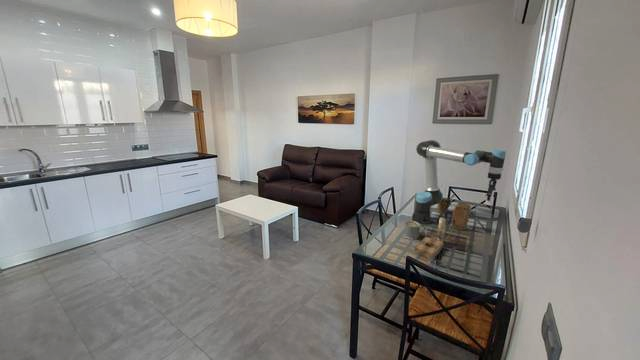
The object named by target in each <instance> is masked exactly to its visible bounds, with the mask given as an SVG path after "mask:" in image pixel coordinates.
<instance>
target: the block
mask: <svg viewBox="0 0 640 360" xmlns="http://www.w3.org/2000/svg"><path fill="white" fill-rule="evenodd" d="M470 209H471V205H470V204H469V203H464V202H457V204H455V206H454V209H453V212H452V217H451V222H450V224H451V226H450V227H452V228H454V229H456V230H461V231H465V230H466V229H467V226H468V222H469V216H470V211H471V210H470Z"/></svg>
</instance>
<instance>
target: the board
mask: <svg viewBox="0 0 640 360" xmlns="http://www.w3.org/2000/svg"><path fill="white" fill-rule="evenodd" d="M442 249H444V242H440V241H437V239H434V238H431V237H428V236H425V237H424V238H423V239H422V240H421V241H420V242H419V243H418V244H417V245H416V246H415V248H414V254H417V255H419V256H423V257H424V258H427V259H430V260H433V261H434V260H435V258H437V256H439V255H438V254H439V253H441V251H442Z"/></svg>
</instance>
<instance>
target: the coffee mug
mask: <svg viewBox="0 0 640 360" xmlns="http://www.w3.org/2000/svg"><path fill="white" fill-rule="evenodd" d="M420 230H421V231H420ZM403 231H404V232H403V235H404V234H405V236H407V237H409V238H413V239H412V240H417V239H418V238H419V236H422V235H424V234H425V228H424V227H422V226H420V223H418V222H415V221H413V220H407V221H405V223H404V230H403ZM405 236H404V237H405Z"/></svg>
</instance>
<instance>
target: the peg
mask: <svg viewBox="0 0 640 360" xmlns="http://www.w3.org/2000/svg"><path fill="white" fill-rule="evenodd" d="M438 221H439V222H438V228H437V236H436V237H437V239H436V240H437V241H440V242H443V241H444V239H445V237H444V236H445V231H446V224H447V223H446V222H447V218H445V217H439V220H438ZM443 243H444V242H443Z"/></svg>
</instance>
